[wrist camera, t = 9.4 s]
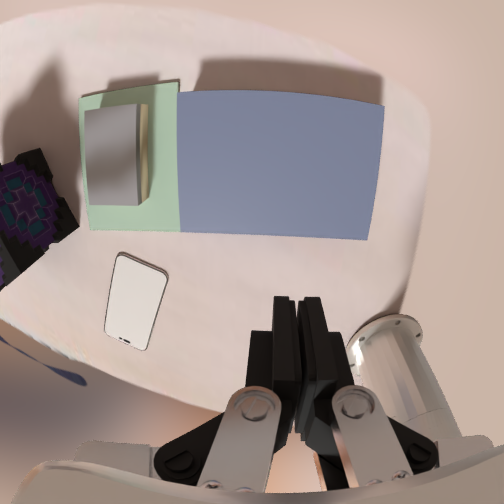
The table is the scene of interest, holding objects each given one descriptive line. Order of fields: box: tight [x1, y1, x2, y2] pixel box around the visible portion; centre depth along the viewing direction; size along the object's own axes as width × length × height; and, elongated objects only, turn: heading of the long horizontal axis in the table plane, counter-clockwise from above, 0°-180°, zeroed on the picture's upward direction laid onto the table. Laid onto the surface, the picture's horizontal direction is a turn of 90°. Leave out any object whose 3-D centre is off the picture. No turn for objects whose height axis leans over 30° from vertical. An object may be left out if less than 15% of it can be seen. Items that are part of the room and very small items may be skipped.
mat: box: [79, 82, 181, 232], centre depth 27 cm, size 16×12×1 cm
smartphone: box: [104, 254, 168, 350], centre depth 36 cm, size 7×1×15 cm
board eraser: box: [84, 104, 149, 206], centre depth 25 cm, size 10×6×3 cm, turn 176°
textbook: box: [177, 90, 385, 240], centre depth 25 cm, size 13×18×4 cm
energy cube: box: [0, 148, 80, 291], centre depth 25 cm, size 12×12×12 cm
